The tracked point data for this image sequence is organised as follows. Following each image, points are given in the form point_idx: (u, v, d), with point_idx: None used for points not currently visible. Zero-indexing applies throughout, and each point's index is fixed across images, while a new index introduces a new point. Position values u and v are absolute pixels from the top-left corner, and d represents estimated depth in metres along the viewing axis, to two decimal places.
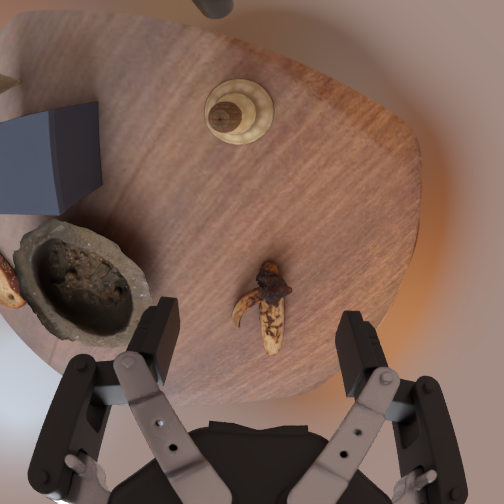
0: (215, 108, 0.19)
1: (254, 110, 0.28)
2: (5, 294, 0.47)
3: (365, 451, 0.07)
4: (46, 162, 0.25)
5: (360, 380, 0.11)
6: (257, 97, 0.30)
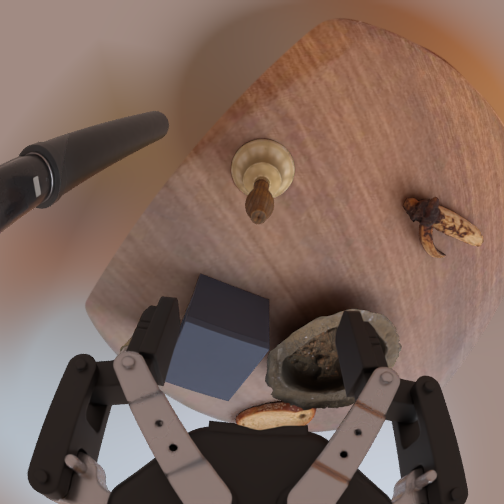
0: (248, 214, 0.25)
1: (265, 164, 0.32)
2: (297, 419, 0.66)
3: (365, 451, 0.07)
4: (224, 339, 0.38)
5: (360, 380, 0.11)
6: (256, 152, 0.35)
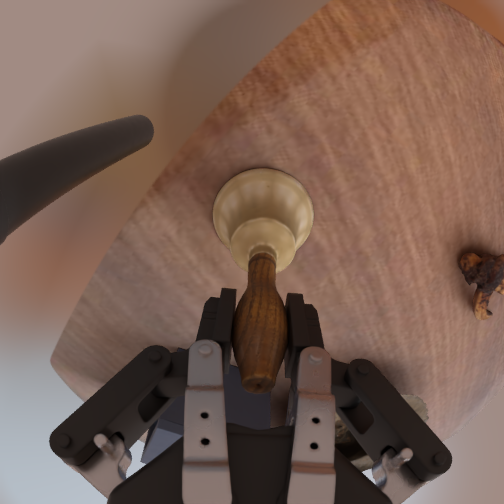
0: (238, 366, 0.12)
1: (269, 221, 0.19)
2: None
3: (332, 435, 0.07)
4: None
5: (294, 359, 0.12)
6: (252, 193, 0.21)
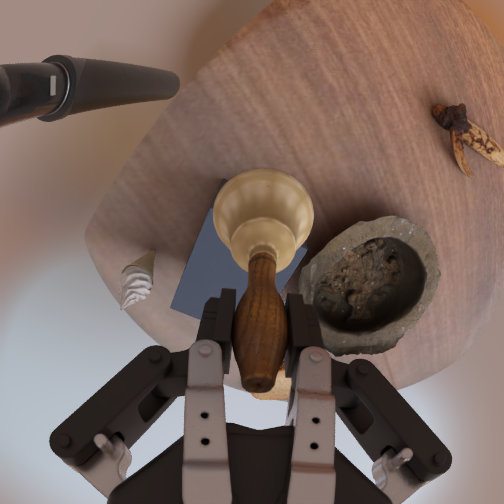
0: (238, 366, 0.12)
1: (269, 221, 0.19)
2: None
3: (332, 435, 0.07)
4: None
5: (294, 359, 0.12)
6: (252, 193, 0.21)
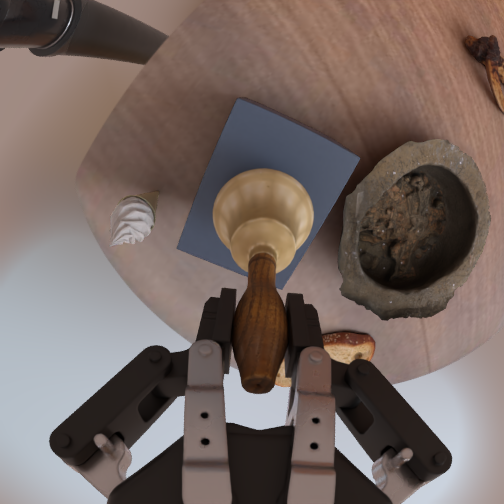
0: (238, 366, 0.12)
1: (269, 221, 0.19)
2: (351, 361, 0.51)
3: (332, 435, 0.07)
4: (295, 133, 0.24)
5: (294, 359, 0.12)
6: (252, 193, 0.21)
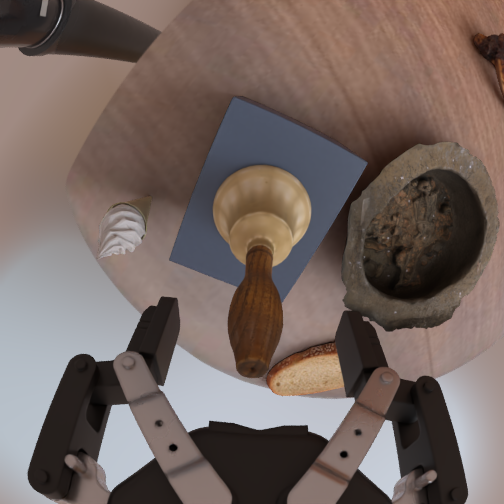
0: (233, 351, 0.12)
1: (267, 215, 0.19)
2: None
3: (365, 451, 0.07)
4: (296, 135, 0.21)
5: (360, 380, 0.11)
6: (250, 188, 0.22)
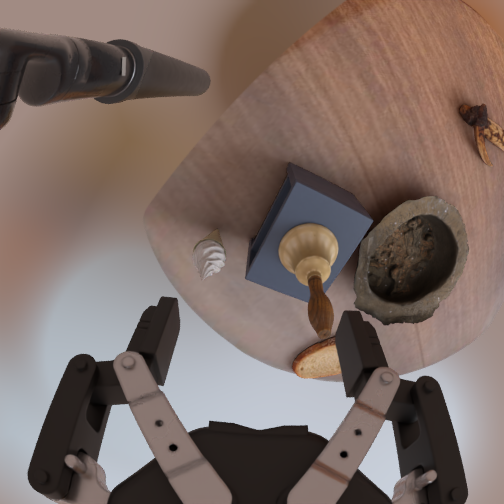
0: (314, 328, 0.27)
1: (318, 258, 0.35)
2: None
3: (365, 451, 0.07)
4: (332, 206, 0.37)
5: (360, 380, 0.11)
6: (305, 239, 0.37)
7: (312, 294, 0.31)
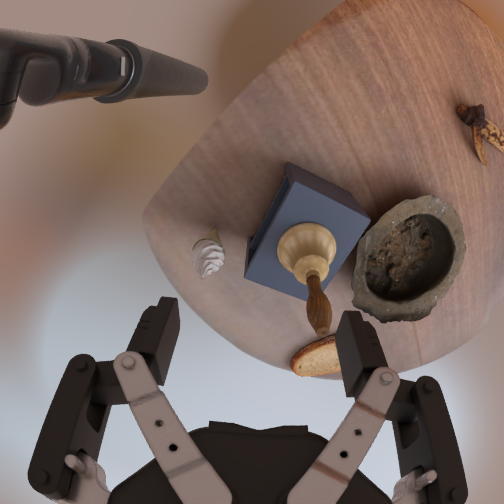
0: (312, 326, 0.28)
1: (316, 257, 0.35)
2: None
3: (365, 451, 0.07)
4: (330, 205, 0.37)
5: (360, 380, 0.11)
6: (304, 238, 0.37)
7: (310, 293, 0.31)
